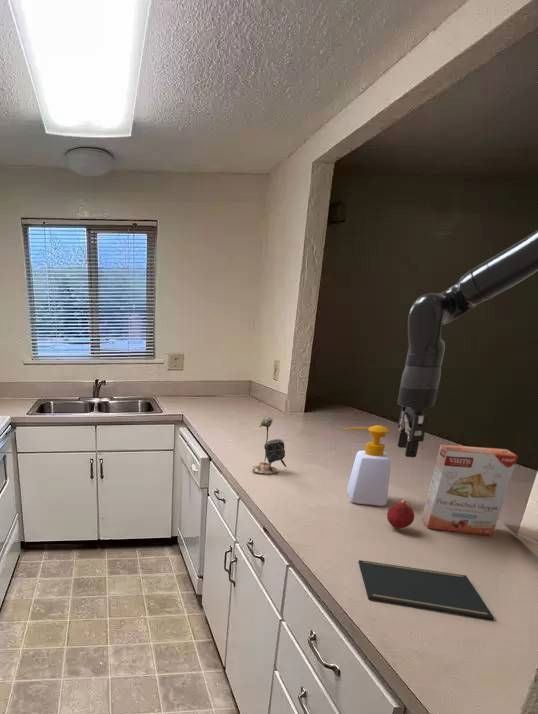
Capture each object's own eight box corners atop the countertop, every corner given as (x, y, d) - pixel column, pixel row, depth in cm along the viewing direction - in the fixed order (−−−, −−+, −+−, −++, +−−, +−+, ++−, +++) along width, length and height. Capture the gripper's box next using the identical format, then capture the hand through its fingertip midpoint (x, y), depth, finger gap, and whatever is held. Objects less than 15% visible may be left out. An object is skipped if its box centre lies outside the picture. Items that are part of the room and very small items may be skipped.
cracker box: (427, 529, 109) (447, 450, 102) (420, 519, 114) (439, 443, 107) (494, 537, 105) (519, 455, 98) (483, 526, 110) (507, 447, 103)
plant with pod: (283, 477, 145) (290, 419, 138) (249, 472, 150) (254, 416, 143) (286, 470, 152) (293, 414, 145) (254, 465, 156) (259, 411, 149)
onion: (412, 536, 106) (419, 506, 103) (385, 532, 108) (391, 502, 105) (409, 526, 111) (416, 497, 108) (383, 522, 113) (389, 494, 110)
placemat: (465, 577, 89) (466, 574, 89) (493, 620, 77) (494, 617, 77) (358, 562, 95) (358, 559, 95) (368, 599, 83) (369, 596, 83)
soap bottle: (330, 490, 134) (341, 420, 126) (380, 495, 130) (394, 422, 122) (333, 502, 125) (345, 427, 118) (387, 508, 121) (403, 431, 114)
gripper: (447, 390, 94) (431, 461, 99) (429, 381, 106) (416, 445, 112) (407, 389, 96) (394, 459, 102) (394, 381, 109) (383, 443, 114)
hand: (406, 451), depth 107 cm, fingers open, 8 cm apart
